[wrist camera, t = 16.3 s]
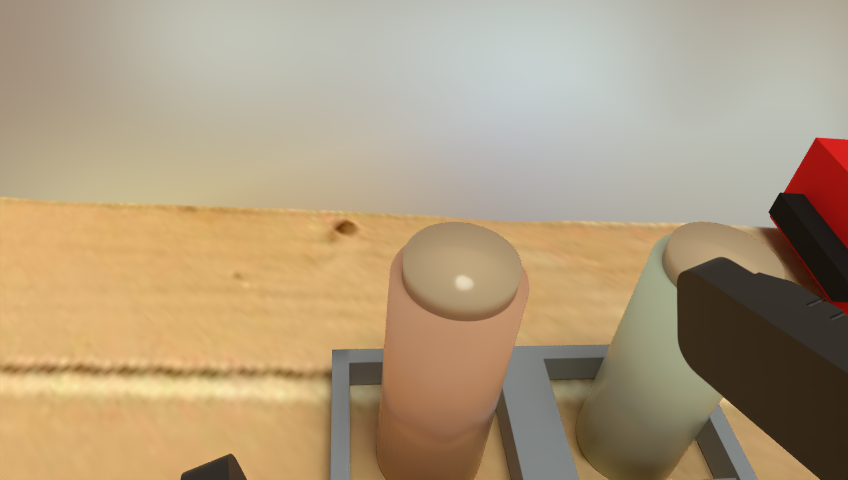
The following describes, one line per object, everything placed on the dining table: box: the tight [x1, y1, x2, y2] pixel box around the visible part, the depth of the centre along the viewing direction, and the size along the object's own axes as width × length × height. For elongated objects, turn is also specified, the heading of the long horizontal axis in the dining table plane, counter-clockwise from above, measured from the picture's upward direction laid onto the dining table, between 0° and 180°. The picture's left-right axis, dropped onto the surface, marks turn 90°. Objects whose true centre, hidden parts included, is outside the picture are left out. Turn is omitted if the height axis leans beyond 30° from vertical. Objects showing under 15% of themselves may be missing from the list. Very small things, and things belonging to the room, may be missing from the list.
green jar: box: [576, 222, 785, 480], centre depth 33 cm, size 6×6×15 cm
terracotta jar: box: [376, 222, 529, 480], centre depth 31 cm, size 6×6×15 cm
